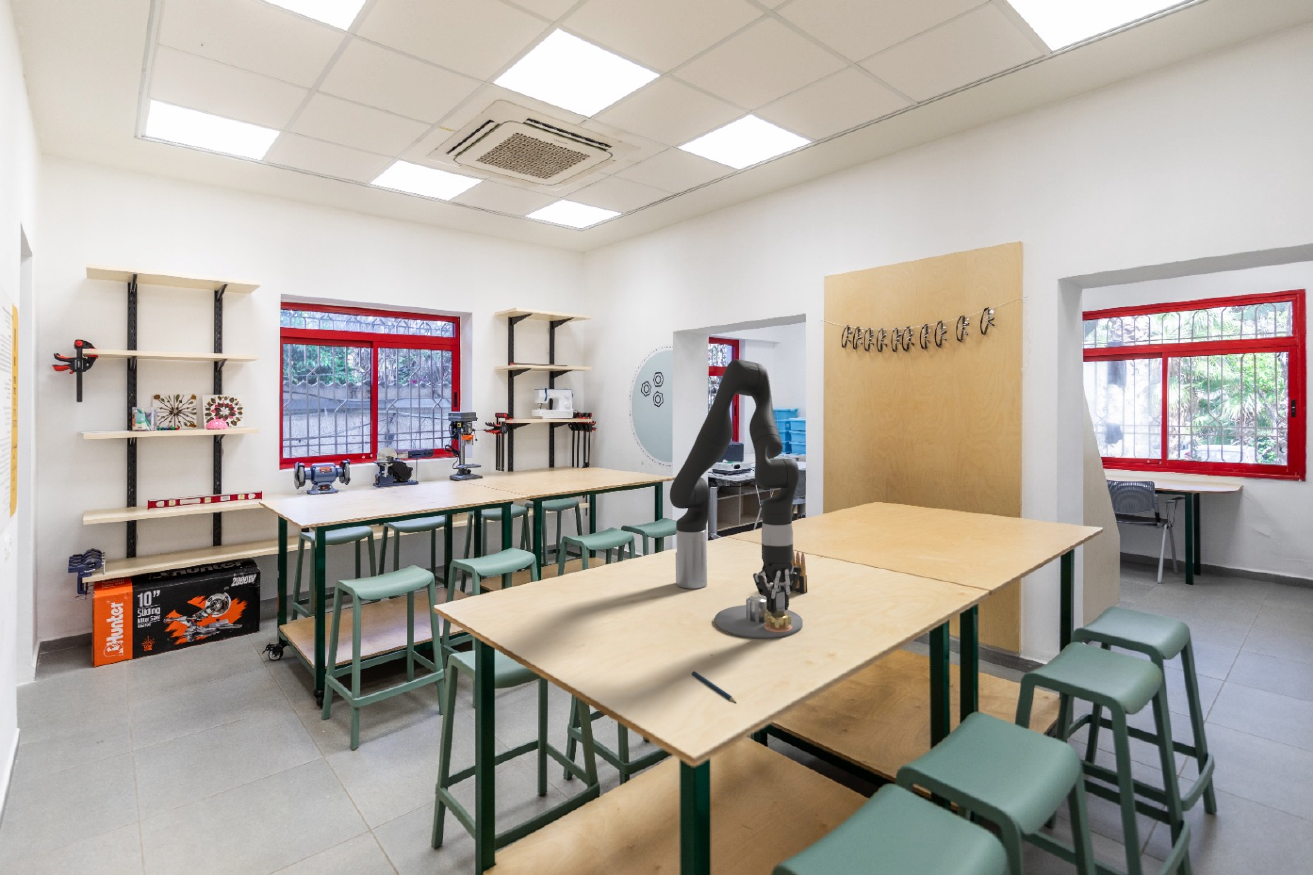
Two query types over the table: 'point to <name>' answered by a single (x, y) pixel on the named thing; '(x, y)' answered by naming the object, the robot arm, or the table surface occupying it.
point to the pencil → (713, 686)
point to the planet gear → (779, 612)
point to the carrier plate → (754, 621)
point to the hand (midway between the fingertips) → (777, 610)
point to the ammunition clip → (803, 577)
